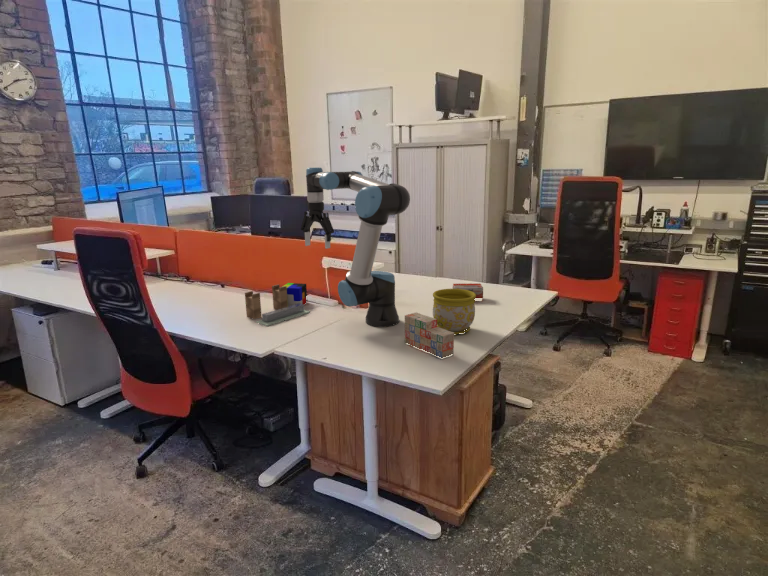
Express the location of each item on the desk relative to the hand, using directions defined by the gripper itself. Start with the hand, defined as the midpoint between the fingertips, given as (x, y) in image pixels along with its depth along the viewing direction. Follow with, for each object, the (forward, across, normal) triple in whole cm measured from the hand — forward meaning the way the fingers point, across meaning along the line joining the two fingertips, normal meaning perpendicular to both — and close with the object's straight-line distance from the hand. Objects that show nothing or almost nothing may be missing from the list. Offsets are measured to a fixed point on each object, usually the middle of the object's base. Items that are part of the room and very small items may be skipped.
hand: (317, 246), depth 234 cm
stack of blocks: (+32, -71, +11) cm, 78 cm away
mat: (+32, +6, +18) cm, 37 cm away
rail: (+31, +6, +18) cm, 36 cm away
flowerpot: (+32, -67, -14) cm, 76 cm away
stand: (+32, +18, +18) cm, 41 cm away
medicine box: (+32, -47, -61) cm, 83 cm away
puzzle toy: (+32, +19, 0) cm, 37 cm away
